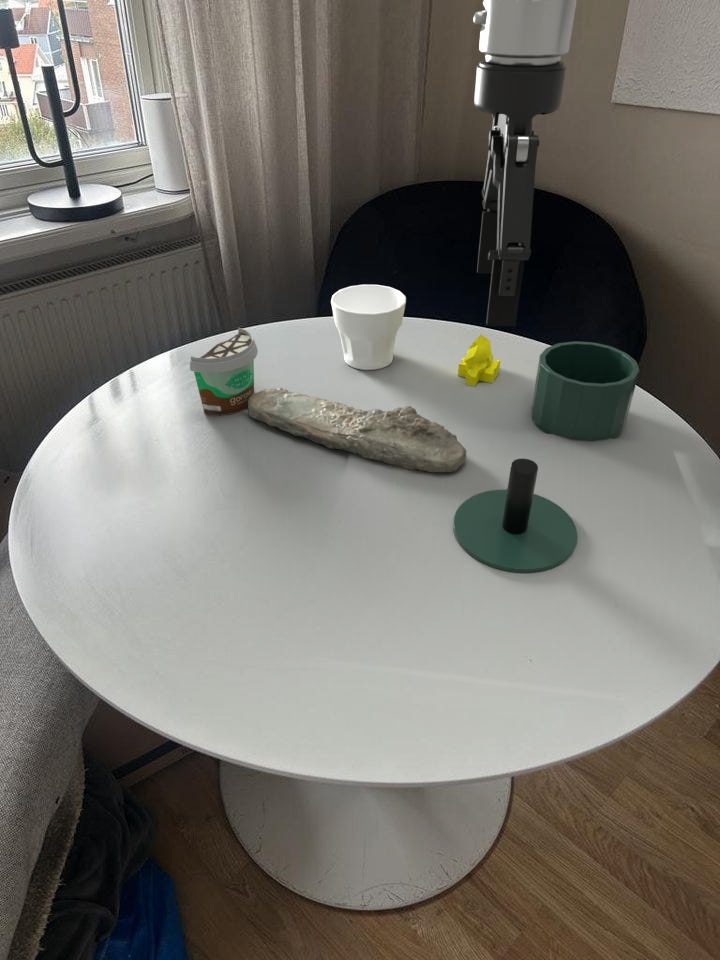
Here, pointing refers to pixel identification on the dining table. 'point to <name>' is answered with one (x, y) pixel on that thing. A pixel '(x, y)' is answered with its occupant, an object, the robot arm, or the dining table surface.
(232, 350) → the food container
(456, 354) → the dining table surface
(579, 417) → the pot
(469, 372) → the yellow faceted cluster
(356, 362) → the cup
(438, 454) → the elongated rock
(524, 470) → the pot lid
